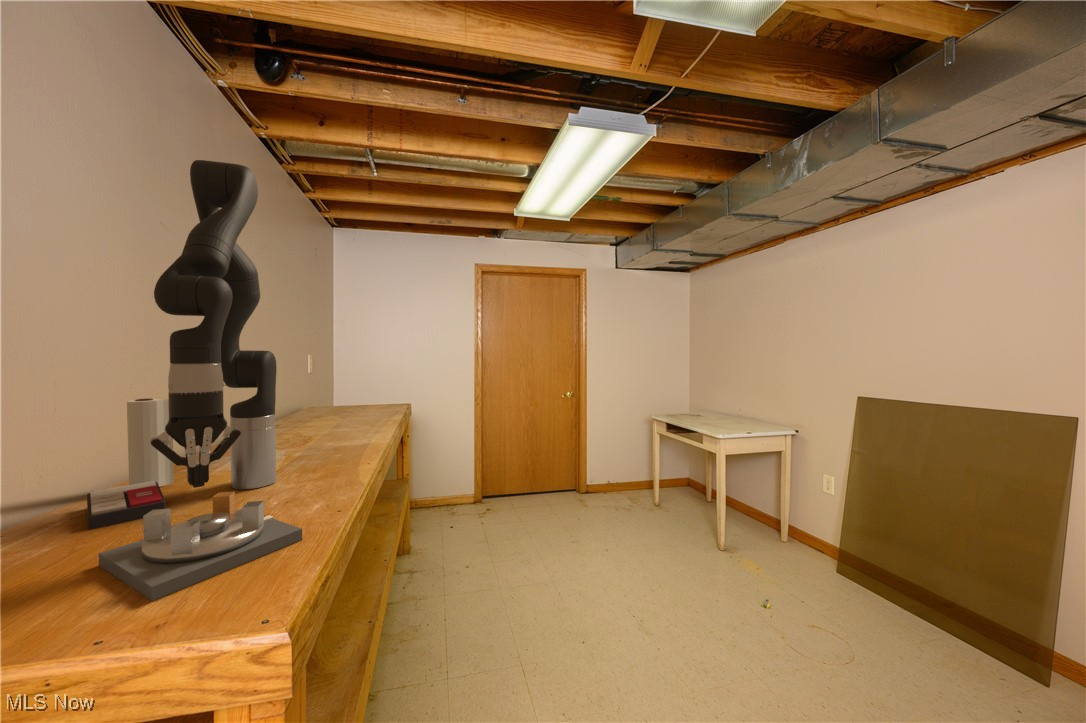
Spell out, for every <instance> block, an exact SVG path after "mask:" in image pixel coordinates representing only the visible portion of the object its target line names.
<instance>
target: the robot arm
mask: <svg viewBox="0 0 1086 723" xmlns="http://www.w3.org/2000/svg"><path fill="white" fill-rule="evenodd" d="M189 177H190V184H191V185H190V186H191V191H192V196H193V198H194V203H195V208H196V212H197V215H198V218H199V219H198V220H199V223H197V224H195V226H194V227H193V228H192V229H191V230H190V231H189V232H188V235H187V238H186V241H185V244H184V245H183V246H184V247H183V249H182V252H181V255H180V256H178V258H176V260H174V261H173V263H172V264H171V265H170V266H168V268H167V269H166V270H165V271H164V272H163V273H161V275H160V276H159V277H158V280H157V281H156V283H155V286H154V289H153V297H154V298H153V299H154V302H155V304H156V305H157V307H158V308H159V309H160V310H161V311H162V312H164V313H165V314H168V315H171V316H181V317H183V316H187V317H188V316H189V317H203V320H202V321H201V322H200V324H198V325H197V326H195V327H189V328H183V329H178V330H175V331H172V332H171V334H170V336H169V371H168V376H167V378H168V380H167V386H168V387H167V388H168V399H169V421H168V424H167V425H166V427H165V431H164V432H163V433H161V434H160V435H159V436H157V437H154V438H152V439H151V440H150V443H151V445H152V446H153V447H154V448H156V449H157V450H158V451H159V452H161V453H162V454H163V455H164V456H166V457H167V458H168V459H169V460H170V461H172V462H173V465H176V466H179V467H180V466H183V467H186V473H187V475H186V476H187V477H186V478H187V483H188V484H189V486H192V488H193V489H195V488H201V487H205V483H208V482H209V480H210V464H211V463H212V462H214V461H218V460H221V459H222V458H223V456H224V455H225V454H226V453H227V452H228V450H229V449H230V481H231V488H233V489H235V490H250V489H252V490H253V489H257V488H264V487H267V486H269V485H270V486H271V485H272V484H274V483H276V481H277V446H276V445H277V444H276V442H277V441H276V439H277V438H276V392H277V391H276V390H277V389H276V388H277V386H276V385H277V367H278V366H277V359H276V357H275V354H274V353H273V351H271V350H247V349H246V350H245V349H244V350H241V348H240V338H241V333H242V332H243V329H244V327H245V325H246V324H247V322H248V320H249V319H250V317H252V314H253V313H254V311H255V310H256V308H257V307H258V305H259V303H260V299H261V288H260V280H259V279H260V278H259V274H258V270H257V267H256V265H255V263H254V262H253V261H252V260H251V258H250V257H249V256H248V255H247V253H245V250H243V249H242V247H241V246H240V245H239V244H238V243H237V240H238V237H240V234H241V232H242V230H243V229H244V228H245V226H246V224H247V222H248V221H249V220H250V217H251V215H252V214H253V212H254V210H255V208H256V205H257V203H258V198H259V191H258V190H259V189H258V181H257V179H256V177H255V174H254V172H253V170H251V168H249V167H248V166H246V165H242V164H238V163H230V162H225V161H224V162H222V161H212V160H205V159H196V160H193V162H192V163H191V164H190V169H189ZM225 386H226V387H227V388H230V389H231V388H232V389H248V388H249V389H250V388H251V389H253V388H254V389H255V388H256V389H257V391H256V393H255V394H254V395H253V396H252V397H250V398H248V399H245V400H242V401H239V402H236V403H233V404H232V405H231V406H230V409H229V416H230V419H229V421H230V422H229V423H230V424H229V425H230V426H229V425H228V421H227V420H226V418H225V416H224V414H225V413H224V387H225ZM220 435H222V437H223V439H222V440H221V441H220V443H219V444H217V445H216V447H215V448H214V449H213V451H212V452H211V450H212V444H214V443H215V441H216V440H217V439H218V438H219V437H220ZM169 436H171V437H172V438H173V441H175V442H176V443H177V444H178V445H179V446H181V447H182V448H183V449H184V454H185V455H184V456H185V457H184V456H180V454H178V453H177V452H176V451H174V449H173V450H172V449H171V448H169V447H168V445H169V444H170V441H169V439H168V437H169ZM196 447H198V456H197V448H196ZM197 457H198V458H197ZM197 459H198V460H197Z"/></svg>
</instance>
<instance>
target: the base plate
mask: <svg viewBox="0 0 1086 723" xmlns="http://www.w3.org/2000/svg"><path fill="white" fill-rule="evenodd" d="M235 513H242V508H240V509H238V510H235ZM302 540H303V528H301V527H298V526H296V525H293V524H290V523H287V522H284V521H282V520H279V519H276V518H275V517H274V516H273V515H265V514H264V529H263V531H262V533H261V534H260V535H259V536H258V537H256V538H255V539H254V540H252V541H250V542H248V543H247V544H245V545H242V546H240V547H238V548H235V549H233V550H230V551H227V552H224V553H221V554H218V555H214V556H210V557H206V558H202V559H197V560H191V561H184V562H174V563H159V562H152V561H148V560H146V559H144V558H143V556H142V544H143V542H144V538H143V539H140V540H137V541H133V542H131V543H128V544H124V545H121V546H117V547H114V548H110V549H108V550H107V549H106V550H105V551H102V552H98V567H101V568H102V569H104V570H105V571H106V572H108V573H109V572H110V573H109V574H111V575H112V574H113V575H112V576H114V577H115V578H117V579H118V580H120V581H121V580H122V581H121V582H123V583H124V584H126V585H127V586H129V587H130V588H132V589H133V590H135V591H136V592H138V593H139V594H141V595H143V596H144V597H145V598H147V599H149V600H150V601H151V602H155V601H156V600H159V599H161V598H164V597H166V596H169V595H171V594H173V593H176V592H178V591H181V590H184V589H186V588H188V587H190V586H193V585H195V584H198V583H201V582H202V581H205V580H207V579H210V578H213V577H215V576H217V575H220V574H222V573H224V572H227V571H230V570H232V569H234V568H237V567H240V566H242V565H244V564H246V563H249V562H251V560H252V561H254V560H256V559H259V558H262V557H264V556H266V555H269V554H271V553H273V552H276V551H278V550H280V549H281V550H282V549H283V548H286V547H288V546H290V545H293V544H295V543H298V542H300V541H302ZM241 564H242V565H241ZM239 565H240V566H239Z"/></svg>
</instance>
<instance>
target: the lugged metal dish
mask: <svg viewBox="0 0 1086 723" xmlns="http://www.w3.org/2000/svg"><path fill="white" fill-rule="evenodd" d="M264 503H265V502H264V500H255V501H247V502H246V503H245V504H244V505H243V506H242V507H241V509H242V513H235V511H236V491H224V492H223V491H222V492H217V493H216V494H214V495H213V496H212V512H211V513H204V514H200V515H197V516H194V517H191V518H188V519H187V520H186V521H185V520H184V521H179V522H178V523H175V524H173V525H172V524H171V523H172V522H171V520H172V518H171V508H166V509H158V510H152V511H150V512H149V513H147V514H146V515H144V516H143V519H142V522H143V524H142V525H143V526H142V527H143V529H142V530H143V539H144V542H143V544H142V556H143V558H144V559H146V560H148V561H152V562H159V563H174V562H184V561H191V560H197V559H202V558H206V557H210V556H214V555H218V554H221V553H224V552H227V551H230V550H233V549H235V548H238V547H240V546H242V545H245V544H247V543H248V542H250V541H252V540H254V539H255V538H256V537H258V536H259V535H260V534H261V533H262V531H263V529H264V515H265V511H264V510H265V507H264V506H265V505H264Z"/></svg>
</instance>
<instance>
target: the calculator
mask: <svg viewBox="0 0 1086 723" xmlns="http://www.w3.org/2000/svg"><path fill="white" fill-rule="evenodd" d="M166 504H167V502H166V500H165V496H164V494H163V492H162V490H161V488H160V487H159V485H158V483H157V482H155V481H151V482H145V483H139V484H133V485H129V484H128V485H123V486H122V485H121V486H117V487H116V486H115V487H112V488H104V489H99V490H94V491H90V492H89V493H87V494H86V507H87V530H89V531H90V530H95V529H101V528H105V527H109V526H114V525H118V524H119V525H120V524H122V523H123V524H124V523H128V522H133V521H137V520H141V519H142V520H143V516H144V515H146V514H147V513H149V512H150V511H152V510H158V509H167V507H166V506H167V505H166Z"/></svg>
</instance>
